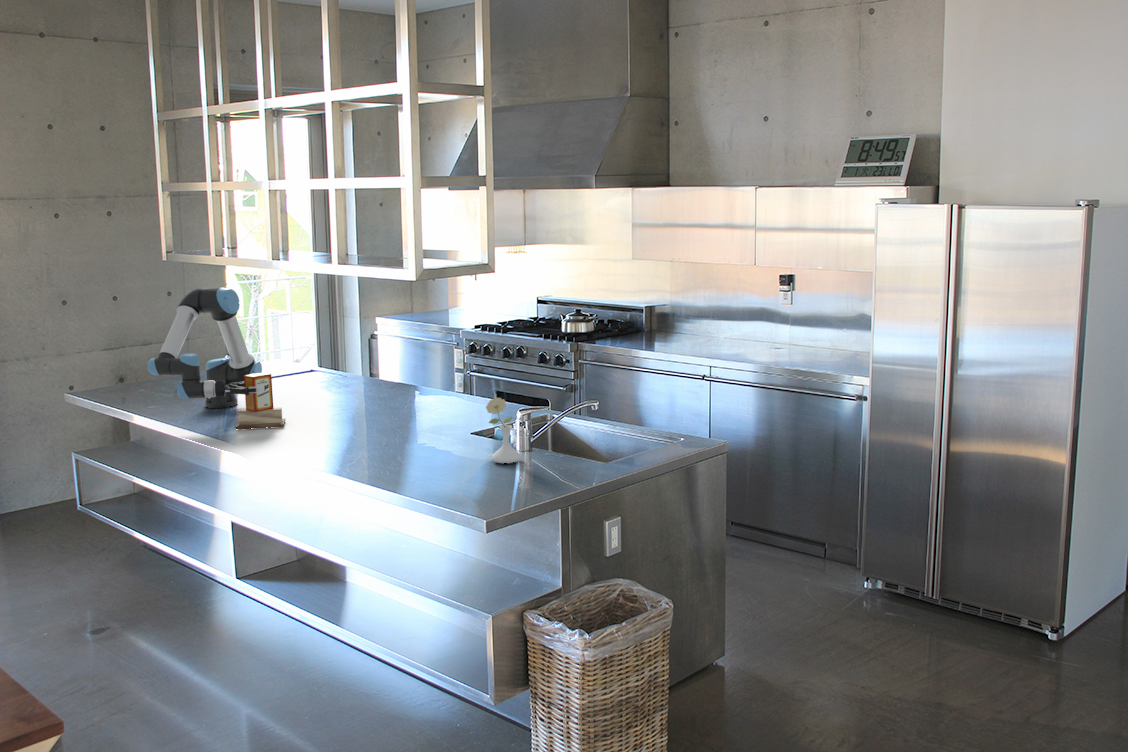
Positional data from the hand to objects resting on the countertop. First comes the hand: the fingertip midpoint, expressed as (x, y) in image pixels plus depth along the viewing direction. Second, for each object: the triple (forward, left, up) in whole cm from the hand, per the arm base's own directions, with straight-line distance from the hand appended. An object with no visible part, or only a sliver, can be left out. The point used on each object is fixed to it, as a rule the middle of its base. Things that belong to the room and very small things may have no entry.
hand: (266, 386), depth 416 cm
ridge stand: (0, -3, -18) cm, 18 cm away
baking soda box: (0, -3, -10) cm, 11 cm away
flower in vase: (+85, +94, -18) cm, 128 cm away
